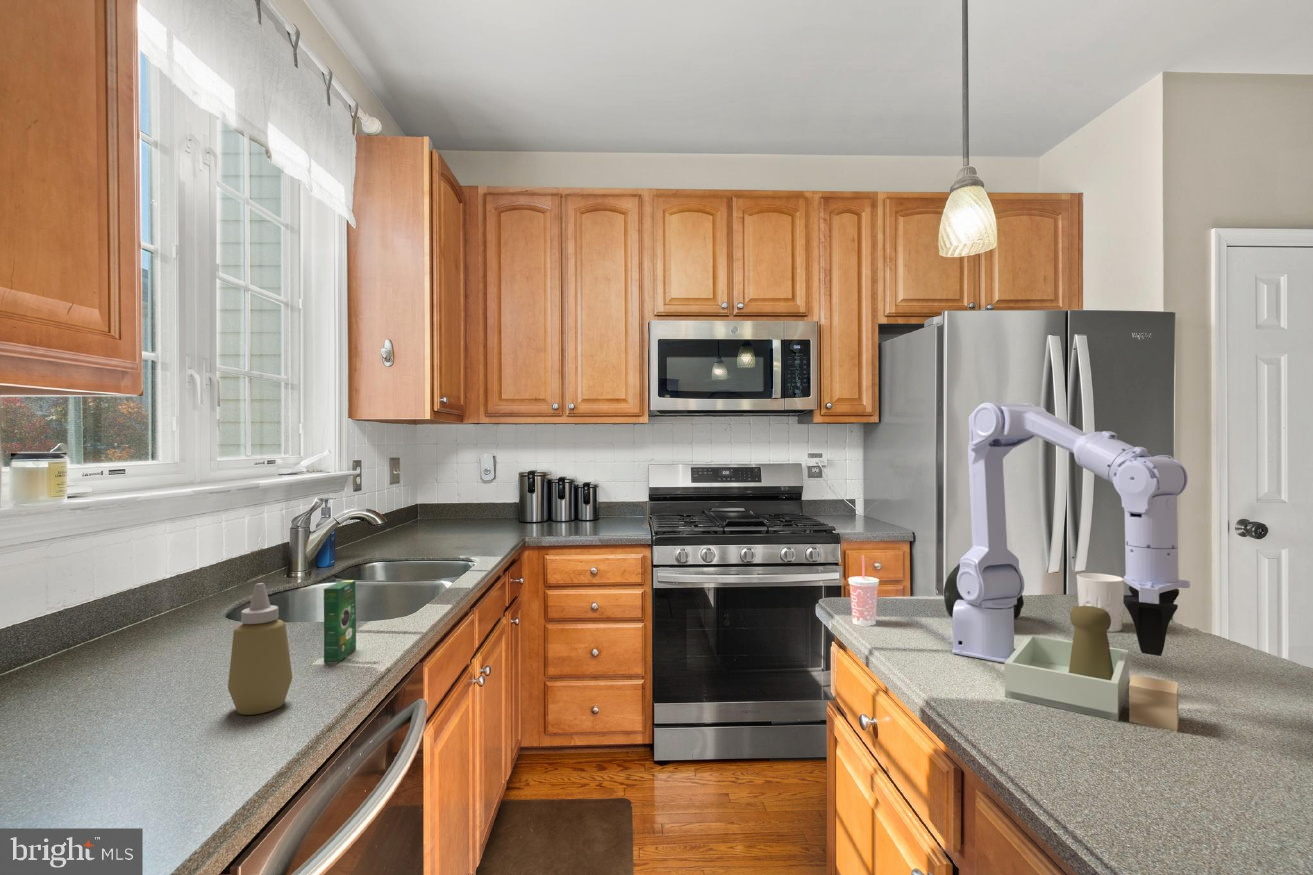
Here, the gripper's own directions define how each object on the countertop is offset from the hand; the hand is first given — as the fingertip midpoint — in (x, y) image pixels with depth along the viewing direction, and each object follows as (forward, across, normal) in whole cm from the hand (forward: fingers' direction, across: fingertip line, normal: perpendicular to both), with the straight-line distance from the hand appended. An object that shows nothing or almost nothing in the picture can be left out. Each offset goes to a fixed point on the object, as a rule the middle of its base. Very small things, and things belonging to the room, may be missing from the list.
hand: (1152, 646), depth 89 cm
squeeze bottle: (+10, -73, +101) cm, 125 cm away
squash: (+10, +35, +29) cm, 47 cm away
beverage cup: (+10, +21, +49) cm, 54 cm away
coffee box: (+10, -55, +115) cm, 128 cm away
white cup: (+10, +46, +10) cm, 48 cm away
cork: (+9, +8, +8) cm, 14 cm away
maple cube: (+10, -1, 0) cm, 10 cm away
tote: (+10, +5, +10) cm, 15 cm away
